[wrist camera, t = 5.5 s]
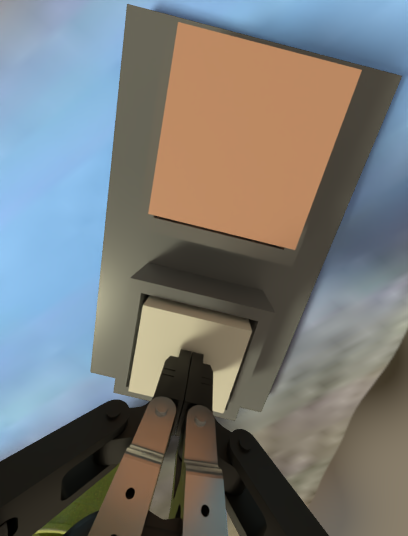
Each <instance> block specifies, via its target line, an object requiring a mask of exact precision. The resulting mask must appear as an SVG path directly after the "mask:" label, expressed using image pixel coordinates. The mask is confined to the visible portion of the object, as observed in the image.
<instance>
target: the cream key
mask: <svg viewBox="0 0 408 536" xmlns="http://www.w3.org/2000/svg"><path fill="white" fill-rule="evenodd" d="M251 333H252V329H251V326H250V322H249V319H247V318H243V317H239V316H235V315H230V314H226V313H222V312H218V311H214V310H210V309H206V308H201V307H197V306H193V305H189V304H185V303H181V302H177V301H172V300H168V299H164V298H160V297H156V296H152V295H150V296H149V297H148V299H147V300H146V302H145V303H144V304H143V308H142V313H141V319H140V325H139V331H138V337H137V343H136V349H135V355H134V361H133V367H132V372H131V378H130V384H129V390H128V391H129V392H134V393H138V394H142V395H146V396H151V397H153V396H154V393H155V390H156V387H157V384H158V381H159V378H160V375H161V372H162V369H163V366H164V363H165V360H166V359H167V358H168V357H170V356H175V357H179V354H180V350H181V349H183V350H187V351H191V352H196V353H200V354H204V358H203V363H204V364H208V365H210V366H211V368H212V370H213V411H215V412H219V413H224V410H225V407H226V404H227V402H228V399H229V396H230V393H231V390H232V387H233V384H234V382H235V379H236V376H237V373H238V370H239V367H240V364H241V362H242V359H243V356H244V353H245V350H246V347H247V345H248V342H249V339H250V336H251ZM191 356H192V353H191Z"/></svg>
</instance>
